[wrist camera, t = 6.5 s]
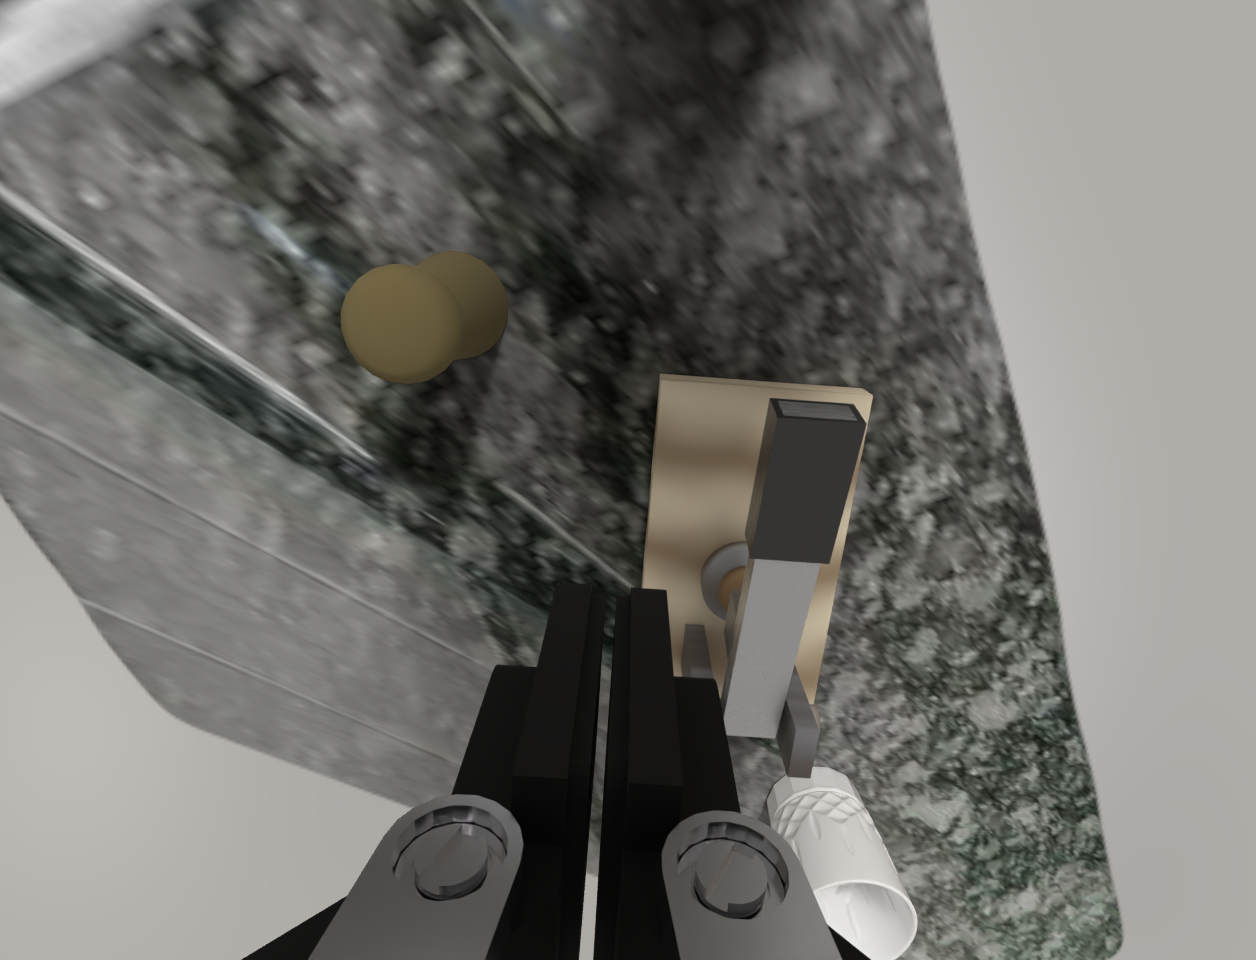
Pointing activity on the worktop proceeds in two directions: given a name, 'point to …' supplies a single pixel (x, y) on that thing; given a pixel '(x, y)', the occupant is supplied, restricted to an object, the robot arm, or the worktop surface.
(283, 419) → the worktop surface
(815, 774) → the white cup
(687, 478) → the nutcracker base
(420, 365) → the cork
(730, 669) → the lever
